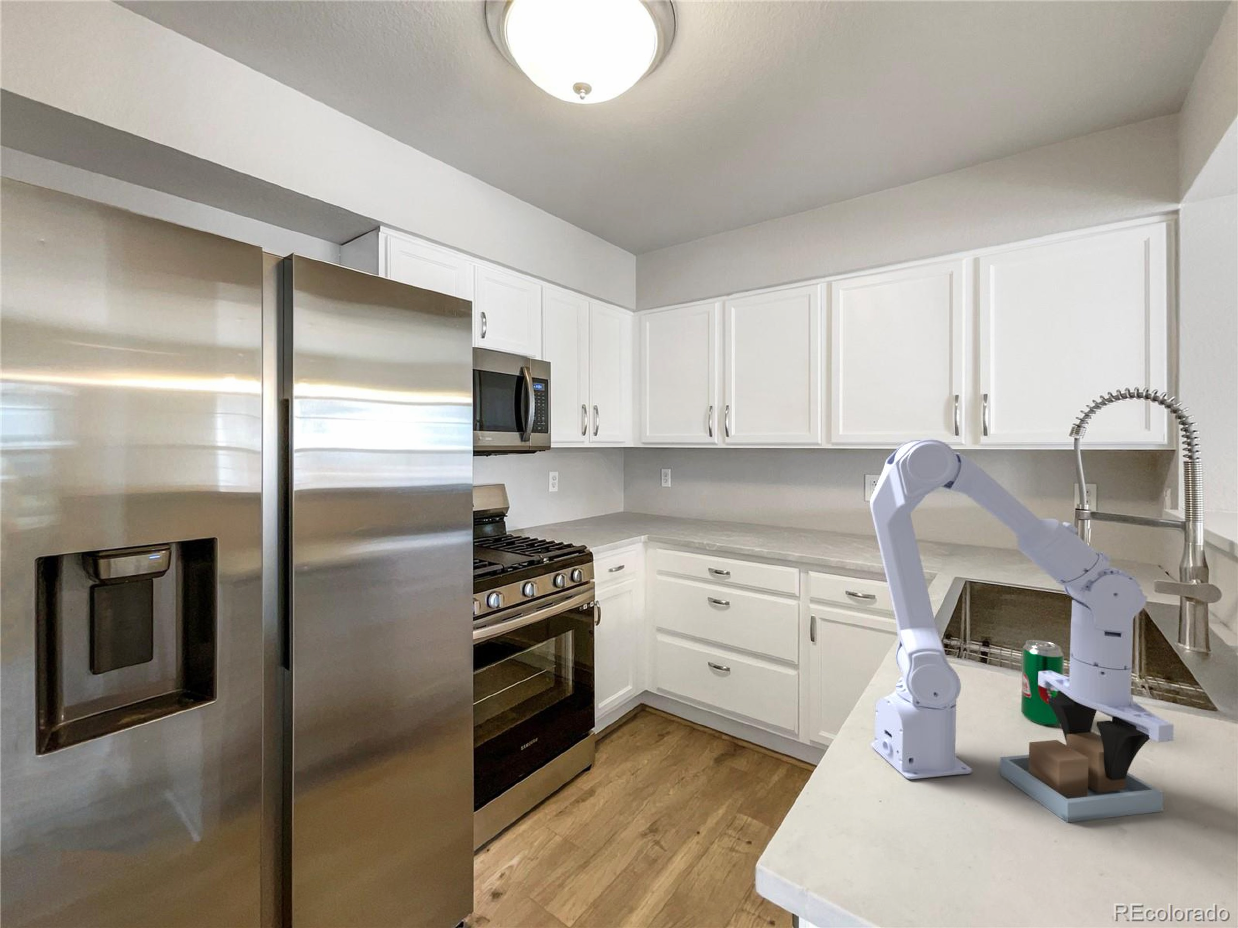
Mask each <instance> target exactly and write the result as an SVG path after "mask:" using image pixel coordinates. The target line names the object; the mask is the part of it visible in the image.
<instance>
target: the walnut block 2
mask: <svg viewBox="0 0 1238 928" xmlns="http://www.w3.org/2000/svg"><path fill="white" fill-rule="evenodd" d="M1065 743H1066V744H1065V745H1067V746H1068V747H1070V748H1072V749H1074V750H1075V751H1077V752H1079V753H1081V754H1082V755H1084V756H1086V757H1088V758H1089V761H1088V787H1090V788H1091V789H1093V790H1094V791H1096V792H1098V793H1099V792H1108V791H1116V790H1125V789H1126V778H1125V779H1121V780H1110V779H1108V778H1107V777H1106V773H1105V767H1104V749H1103V743H1102V739H1101V735H1100V734H1098V733H1096V732H1094V731H1091V732H1088V733H1077V734H1067V736H1066V740H1065Z"/></svg>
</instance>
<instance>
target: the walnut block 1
mask: <svg viewBox="0 0 1238 928" xmlns="http://www.w3.org/2000/svg"><path fill="white" fill-rule="evenodd" d="M1028 755H1029V774H1031V775H1032V776H1034V777H1035V778H1037V779H1038V780H1040V781H1041V782H1043V783H1044V784H1046V785H1047V786H1049V787H1050V788H1052V789H1053V790H1055V791H1056V792H1058V793H1059V794H1061V795H1062V796H1064V797H1065V798H1067V799H1072V798H1081V797H1087V794H1088V761H1089V758H1088V757H1086V756H1084V755H1082V754H1081V753H1079V752H1077V751H1075V750H1074V749H1072V748H1070V747H1068V746H1067V745H1066V744H1065V743H1063V742H1061V741H1060V740H1058V739H1051V740H1042V741H1041V740H1040V741H1031V742H1030V741H1029V742H1028Z"/></svg>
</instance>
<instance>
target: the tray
mask: <svg viewBox="0 0 1238 928" xmlns="http://www.w3.org/2000/svg"><path fill="white" fill-rule="evenodd" d="M999 760H1000V761H999V762H1000V766H999V767H1000V768H999V774H1000V776H1002V777H1003V778H1005V780H1007V781H1009V782H1010V783H1011V784H1013V785H1014V786H1016V787H1017V788H1019V789H1020V790H1021V791H1022V792H1024V793H1026V794H1027V795H1028V796H1030V797H1031V798H1032V799H1033V800H1035V801H1037V802H1038V803H1039V804H1041V805H1042V806H1043V807H1045V808H1046V809H1048V810H1049V811H1051V812H1052V813H1053V814H1055V815H1056V816H1057V817H1059V818H1060V819H1062V820H1063V821H1064V822H1066V823H1073V822H1081V821H1082V822H1083V821H1090V820H1091V821H1092V820H1099V819H1107V818H1116V817H1117V818H1118V817H1124V816H1125V817H1126V816H1133V815H1134V816H1135V815H1142V814H1149V813H1156V812H1157V813H1159V812H1163V801H1164V797H1163V796H1164V792H1163V791H1162V790H1160V789H1158V788H1156V787H1155V786H1152V785H1151V784H1149V783H1148V782H1145V781H1144V780H1142V779H1140V778H1139V777H1137V776H1136V775H1133V774H1131V773H1129V771H1128V772H1127V775H1126V789H1125V790H1116V791H1108V792H1099V793H1098V792H1096V791H1094V790H1093V789H1091V788H1090V787H1088V794H1087V797H1081V798H1072V799H1067V798H1065V797H1064V796H1062V795H1061V794H1059V793H1058V792H1056V791H1055V790H1053V789H1052V788H1050V787H1049V786H1047V785H1046V784H1044V783H1043V782H1041V781H1040V780H1038V779H1037V778H1035V777H1034V776H1032V775H1031V774H1029V754H1020V755H1012V756H1011V755H1010V756H1002V757H1000V759H999Z"/></svg>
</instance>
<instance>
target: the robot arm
mask: <svg viewBox="0 0 1238 928" xmlns="http://www.w3.org/2000/svg"><path fill="white" fill-rule="evenodd" d="M940 488H944V489H946V490H947V489H948V490H950V491H954V492H957V493H961V494H963V495H965V496H967V497H968V498H969V499H970V500H972V501H973V502H974V503H976V504H977V505H978V506H980V507H981V508H982V509H983V510H985V511H986V512H988V513H989V514H990V515H991V516H993V517H994V518H995V519H996V520H998V521H999V522H1000V523H1001V524H1002V525H1004V526H1006V527H1007V529H1009V530H1010V531H1012V532H1013V534H1015V536H1016V548H1017V550H1018V551H1019V552H1021V553H1022V554H1023V555H1024V556H1025V557H1026V558H1028V559H1029V560H1030V561H1031V562H1033V563H1034V564H1035V565H1036V566H1037V567H1038V568H1040V569H1041V570H1042V571H1043V572H1045V573H1046V575H1048V576H1049V577H1050V578H1052V580H1054V581H1055V582H1056V583H1058V584H1059V585H1060V586H1062V589H1063V591H1064V592H1065V593H1066V595H1067V596H1069V597H1072V598H1073V599H1072V600H1071V619H1070V641H1069V642H1070V644H1069V645H1070V647H1069V673H1068V674H1069V676H1067V675H1064V674H1063V675H1061V674H1058V673H1056V672H1053V671H1051V670H1050V671H1039V672H1038V685H1040V686H1042V687H1044V688H1051V689H1053V690H1055V691H1057V695H1056V697H1050V698H1049V699H1048V704H1049V705H1050V707H1051V708H1052V710H1053V711H1054V713H1055V715H1056V717H1057V719H1058V721H1059V723H1060V724H1059V726H1060V728H1061V730H1062V733H1063V737H1064V740H1065V741H1066V736H1067V734H1077V733H1088V732H1092V729H1093V724H1094V721H1095V717H1096V715H1097V711H1098V712H1099V713H1102V714H1104V715H1106V716H1107V717H1110V718H1111V720H1102V721H1101V720H1099V721H1096V724H1095V725H1096V727H1097V729H1098V733H1099V735H1100V736H1101V739H1102V743H1103V749H1104V767H1105V773H1106V777H1107V778H1108V779H1110V780H1121V779H1125V778H1126V775H1127V772H1128V773H1129V769H1130V767H1131V765H1132V764H1133V761H1134V759H1135V758H1136V755H1137V754H1138V753H1139V751H1140V750H1141V748H1142V747H1143V746H1145V744H1147V742H1149V740H1153V741H1154V742H1157V743H1166V742H1173V741H1174V723H1171V722H1169V721H1167V720H1165V719H1163V718H1162V717H1159V716H1157V715H1156V714H1155V713H1152V712H1151V711H1149V710H1148V709H1147V708H1145V707H1143V706H1142V705H1140V704H1138V702H1137V703H1136V701H1134V697H1133V695H1132V672H1133V671H1132V670H1133V643H1134V641H1133V640H1134V637H1133V636H1134V619H1135V616H1136V615H1138V614H1139V613H1140V612H1141V611H1142V610H1143V609H1144V608H1145V606H1146V603H1147V600H1148V595H1146V594H1143V589H1141V588H1140V587H1141V584H1140V582H1138V580H1137V579H1136V578H1135V577H1134V576H1132V575H1131V574H1129V573H1128V572H1126V571H1123V570H1120V569H1118V568H1115V567H1113V566H1110V565H1111V564H1110V561H1111V560H1112V557H1111V556H1110V555H1108V554H1107V553H1106V552H1104V551H1099V552H1098V551H1097V550H1095V549H1094V548H1093V547H1092V546H1091V545H1089V544H1088V543H1087V542H1086V541H1085V540H1083V539H1082V538H1080V536H1078V535H1077V534H1076V533H1077V532H1078V531H1079V529H1078V528H1077V527H1076V526H1075V525H1073V524H1072V523H1070V522H1066V521H1064V522H1061V521H1060V520H1058V519H1055V518H1039V517H1037V516H1036V515H1035V513H1033V512H1032V511H1031V510H1029V509H1028V508H1027V507H1026V506H1025V505H1024V504H1023V503H1022V502H1020V501H1019V500H1018V499H1017V498H1016V497H1015V496H1014V495H1012V494H1011V493H1010V492H1009V491H1008V490H1006V488H1004V487H1003V486H1002V485H1001V484H1000V483H999V482H998V481H996V479H994V478H993V477H992V476H991V475H990V474H988V473H987V472H986V471H985V470H984V469H983V468H982V467H980V466H979V465H978V464H976V463H975V462H974V461H972V460H971V459H970V458H969V457H967V456H965V455H963V454H961V453H960V452H955V451H954V449H953V448H952V447H951V446H950V445H949V444H947V443H946V442H944V441H942V440H939V439H935V438H934V439H932V438H931V439H929V438H928V439H922V440H921V439H913V440H909V441H906V442H904V443H901V445H900V446H898V447H897V449H895V450H894V452H892V453H891V454H890V456H888V458H887V459H886V460H885V463H884V466H883V469H882V471H881V474H880V476H879V479H878V481H877V483H876V485H875V487H874V490H873V492H872V494H871V497H870V500H869V507H870V511H871V516H872V520H873V525H874V529H875V530H874V531H875V533H876V539H877V543H878V547H879V551H880V552H879V553H880V556H881V561H882V564H883V570H884V573H885V577H886V583H887V586H888V587H887V588H888V590H889V591H888V592H889V595H890V599H891V603H892V608H893V612H894V617H895V621H896V634H897V639H898V645H897V647H896V650H895V661H896V664H897V666H898V668H899V670H900V671H901V672H900V673H902V676H901V677H900V678H899V680H898V681H897V683H896V684H895V690H894V691H893V692H892V693H890V694H889V695H886V696H883V697H880V698H879V699H878V700H877V701H876V704H875V708H874V709H875V711H874V741H873V742H870V743H871V744H870V745H871V748H873V750H875V751H876V752H877V753H878V754H879V755H880V756H881V757H882V758H883V759H885V760H886V761H887V762H888V763H889V764H890V765H891V766H893V767H894V768H895V770H897V771H898V772H899V773H900V774H901V775H903V777H905V778H906V779H908V780H914V779H915V780H916V779H917V780H918V779H925V778H935V777H937V778H938V777H944V776H945V777H946V776H956V775H965V774H967V775H968V774H971V773H972V771H973V770H972V768H971V767H970V766H969V765H967V764H966V763H964V762H963V761H962V760H960V759H959V758H957V757H956V740H957V739H956V734H957V728H956V727H957V726H956V725H957V699H958V698H959V696H960V694H961V690H962V686H961V684H962V683H961V679H960V677H959V675H958V673H957V672H956V670H955V669H954V668H953V666H952V665H950V663H949V662H948V658H947V657H946V651H945V649H944V648H945V647H944V645H943V642H942V639H941V638H940V637H941V636H940V634H939V632H938V629H937V625H936V620H935V616H934V611H933V607H932V604H931V599H930V594H929V590H928V586H927V581H926V576H925V572H924V568H923V563H922V560H921V555H920V551H919V547H918V543H917V539H916V533H915V528H914V525H913V520H912V517H911V513H912V512H913V511H914V510H915V509H916V508H917V506H918V505H920V503H921V502H922V501H923V500H924V498H925V497H926V496H927V495H929V494H931V493H933V492H934V491H936V490H938V489H940Z"/></svg>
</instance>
